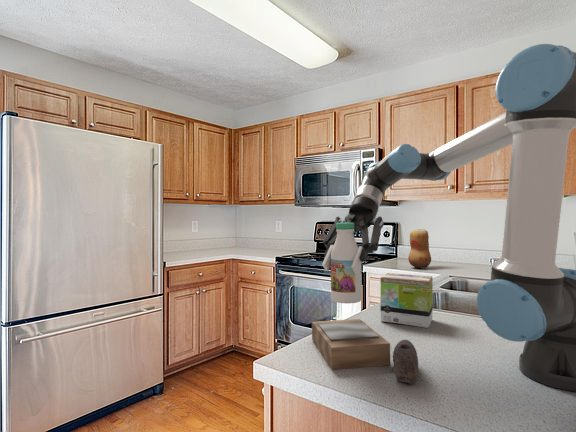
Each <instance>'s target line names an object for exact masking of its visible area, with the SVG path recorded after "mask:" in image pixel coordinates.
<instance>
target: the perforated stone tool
mask: <svg viewBox="0 0 576 432" xmlns="http://www.w3.org/2000/svg"><path fill="white" fill-rule="evenodd" d="M418 358H419V357H418V352H417V350H416V348H415V345H414V344H413V343H412V341H410V340H408V339H402V340H400V341H398V342H397V343H396V345H395V346H394V350H393V351H392V362H393V366H392V372H393V374H394V376H395V378H396V380H398V381H400V382H401V383H406V384H409V385H410V384H412V385H413V384H414V383H416V381H417V378H418V374H419V359H418Z"/></svg>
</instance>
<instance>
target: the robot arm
mask: <svg viewBox="0 0 576 432" xmlns="http://www.w3.org/2000/svg"><path fill="white" fill-rule="evenodd" d="M495 97H496V100H497V102H498V103H499V104H500V106H501V107H502V108H503V109H505V110H506V111H504V112H502V113H501V114H499V115H497V116H495V117H493V118H491V119H490V120H488V121H486V122H484V123H482V124H481V125H478V126H477V127H475V128H473V129H471V130H469V131H467V132H465V133H464V134H461V135H460V136H458V137H456V138H454V139H453V140H451V141H449V142H447V143H445V144H443V145H442V146H440V147H437V148H436V149H434V150H431V151H429V152H428V153H421V152H419V150H418V149H417V148H416V147H415V146H412V145H411V144H409V143H403V144H399V145H398V146H397V147H396V148H394V149H393V150H391V151H390V152H389V153H388V154H386V156H385V157H383V158H382V160H381V159H380V161H376V162H372V163H370V164H369V166H368V167H367V169H366V170H365V171H364V174H363V177H362V180H361V181H360V183H359V187H358V189H357V190H356V192H355V195H354V197H353V200H352V202H351V204H350V207H349V210H348V214H347V215H346V216H345V217H340V216H336V217H335V220H334V223H333V225H332V226H331V228H330V230H329V231H328V232H327V234H326V235H325V238H324V239H323V240H322V243H323V245H324V247H325V248H326V250H325V252H324V253H323V254H324V259H323V261H322V264H321V266H322V267H323V268H324V270H325V272H329V271H330V270H331V252H332V248H333V246H334V244H335V241H336V238H337V231H336V223H354V232H360V233H361V242H362V243H361V246H360V245H359V246H358V251H357V253H356V256H355V259H354V261H353V264H352V266H351V267H352V269H353V271H354V273H355V274H358V272H359V269H360V266H361V267H362V263H363V262H364V263H365V262H366V261H367V258H368V256H369V253H370V252H372V251H373V252H377V251H378V248H379V243H380V238H381V237H380V236H381V232H382V228H383V227H384V225H385V222H384V220H383V217H382V216H377V214H378V212H379V208H380V205H381V204H382V201H383V198H384V195H385V193H386V191H387V190H388V189H389V188H391V186H393V185H394V184H396V183H397V182H399V181H400V180H404V179H405V180H421V181H432V182H435V181H442V180H446V178H448V177H449V175H451V173H452V172H453V171H455V170H457V169H459V168H460V169H461V168H462V167H464V166H467V165H468V164H470V163H473V162H475V161H477V160H479V159H482V158H484V157H486V156H489V155H490V154H491V155H492V154H494V153H496V152H498V151H500V150H502V149H505V148H507V147H509V146H511V145H512V146H511V155H510V163H509V164H510V166H509V174H508V175H509V176H508V185H507V186H508V187H507V196H506V197H507V198H506V206H505V207H506V208H505V219H504V228H503V229H504V230H503V237H502V238H503V241H502V251H501V257H500V258H499V259H498V260H496V261H494V262H493V263H492V264H491V272H490V280H489V281H486V282H485V284H483V285H482V286H481V287H480V288H479V290H478V293H477V294H476V295H477V296H476V306H477V311H478V313H479V316H480V318H481V320H482V321H483V322H485V324H486V326H487V327H488V329H490V331H491V332H492V333H494V334H496V335H497V336H498V337H501V338H502V339H504V340H507V341H510V342H520V343H521V342H525V343H524V346H523V349H522V350H523V351H522V353H520V355H519V359H518V364H519V365H518V367H519V371H520V372H521V374H523V375H525V376H526V377H527V378H530V379H532V380H533V381H536V382H538V383H539V384H543V385H546V386H549V387H551V388H556V389H560V390H564V391H569V392H576V269H572V268H562V267H558V266H557V265H556V257H557V247H558V246H557V245H558V241H559V240H558V238H559V230H560V229H559V228H560V222H561V220H560V219H561V214H562V213H561V212H562V203H563V202H562V201H563V195H564V194H563V193H564V186H565V185H564V184H565V175H566V168H567V157H568V149H569V142H570V141H569V139H570V134H571V132H572V131H573V130H574V129H576V51H573V50H571V49H570V48H569V47H567V46H563V45H558V44H550V43H540V44H535V45H532V46H529V47H527V48H525V49H522V50H521V51H519V52H518V53H516V54H515V55H514V56H512V58H511V60H510V61H509V62H507V63H506V64H505V65H504V67H503V68H502V70H501V71H500V73H499V75H498V77H497V81H496V84H495ZM372 225H373V227H372V231H371V238H370V239H369V227H371V226H372Z"/></svg>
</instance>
